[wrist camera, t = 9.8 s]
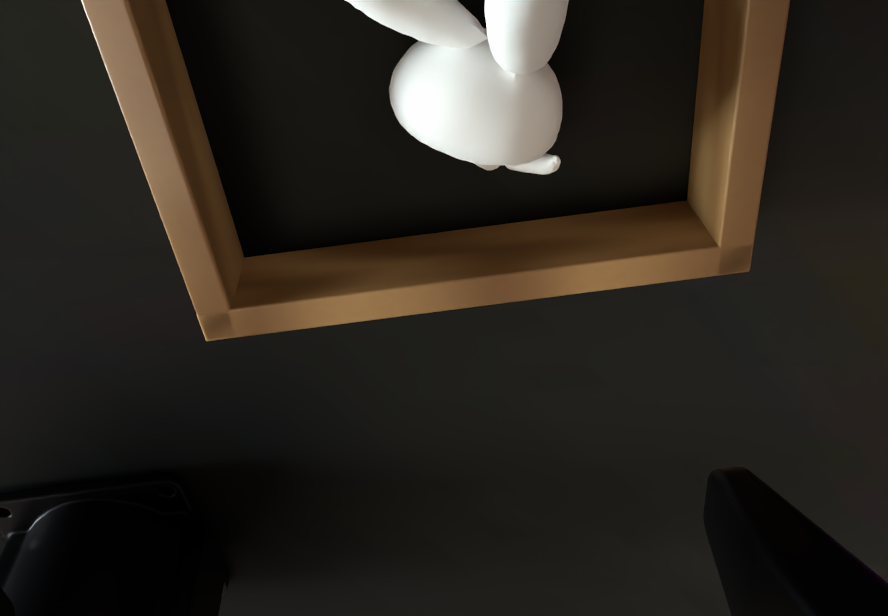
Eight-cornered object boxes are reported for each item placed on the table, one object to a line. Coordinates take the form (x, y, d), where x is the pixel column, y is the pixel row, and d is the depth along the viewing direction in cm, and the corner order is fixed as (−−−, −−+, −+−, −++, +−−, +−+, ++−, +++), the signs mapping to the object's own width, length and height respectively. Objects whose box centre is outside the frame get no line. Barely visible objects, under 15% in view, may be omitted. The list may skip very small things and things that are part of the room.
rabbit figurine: (369, 187, 20) (213, -69, 13) (429, 71, 21) (314, -221, 14) (586, 241, 18) (535, -35, 11) (640, 107, 19) (624, -218, 12)
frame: (221, 287, 22) (205, 342, 20) (25, -295, 14) (-34, -302, 12) (715, 223, 22) (750, 272, 20) (786, -396, 14) (855, -421, 12)
